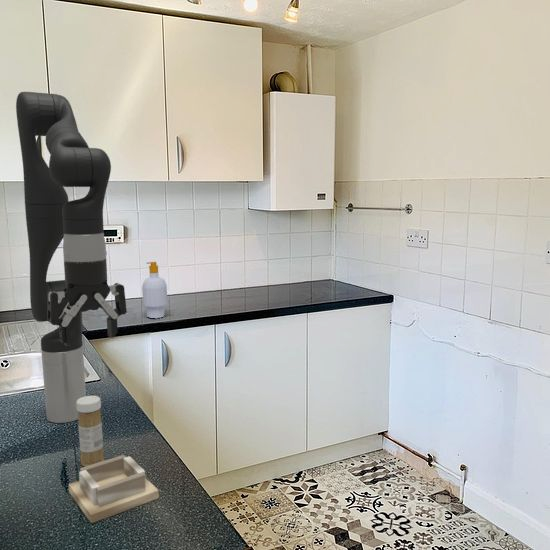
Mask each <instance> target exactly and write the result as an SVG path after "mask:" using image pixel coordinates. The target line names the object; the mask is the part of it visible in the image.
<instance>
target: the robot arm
mask: <svg viewBox="0 0 550 550" xmlns="http://www.w3.org/2000/svg"><path fill="white" fill-rule="evenodd" d="M15 101H16V102H15V103H16V104H15V109H16V110H15V111H16V120H17V121H16V122H17V130H18V136H19V144H20V151H21V153H20V154H21V161H22V169H23V170H22V171H23V190H24V191H23V193H24V211H25V221H26V223H25V224H26V229H27V231H26V232H27V239H28V241H27V242H28V248H29V249H28V251H29V299H30V300H29V301H30V310H31V314H32V317H33V318H34V320H35V321H36V322H38V323H41V322H42V323H44V322H48V323H49V324H51V325H53V326H58V327H57V328H56V329H54V330H52V331H50V332H48V333H46V334H44V335H42V337H41V339H40V348H41V350H40V351H41V361H42V375H43V376H42V378H43V386H44V387H43V388H44V390H43V391H44V401H45V413H46V420H47V421H48V422H51V423H55V424H65V423H70V422H76V421H77V420H78V411H77V407H76V402H77V400H78V399H80V398H82V397H85V396H87V393H86V391H87V390H86V378H85V376H86V374H85V362H84V361H85V360H84V358H85V357H84V348H83V345H84V344H83V343H84V342H83V318H82V317H83V314H82V313H85V312H88V311H98V310H99V309H101V310H102V311H103V312H104V313H105V315H106V316H108V317H106V327H107V328H106V330H107V337H109V338H111V339H113V338H116V335H117V334H118V332H119V331H118V330H119V329H118V327H119V326H118V318H120V316H122V315H126V314H127V301H126V293H125V286H124V285H123V284H121V283H119V282H115V283H114V284H112V285H109V284H108V267H107V263H108V262H107V255H108V251H107V247H106V240H105V234H104V230H105V229H104V204H105V197H106V192H107V188H108V184H109V181H110V176H111V171H112V165H111V163H112V162H111V160H110V157H109V155H108V154H107V153H106V151H105V150H104V149H102V148H98V147H89V145H88V143H87V141H86V139H84V137H83V136H82V135H81V133H80V132H79V128H78V125H77V121H76V118H75V114H74V111H73V108H72V105H71V103H70V101H69V100H68V99H67V98H66V97H65V96H63V95H61V94H57V93H48V92H45V93H44V92H35V91H20V92H19V93H18V94H17V97H16V100H15ZM36 137H45V145H46V148H47V151H48V153H49V155H50V156H49V162H48V164H47V163H46V160H45V159H44V157H43V156H42V152H41V151H40V149H39V145H38V142H37V138H36ZM78 187H79V188H89V190H88V193H87V194H86V195H85V196H84V197H82V198H78V199H77V198H76V199H74V200H73V199H72V200H69V195H68V193H67V191H66V189H65V188H78ZM61 243H63V244H62V254H63V269H64V279H62V280H51V281H50V280H49V281H48V280H47V275H48V269H49V266H50V263H51V261H52V258H53V256H54V254H55V252H56V251H57V249H58V247H59V246H60V245H61ZM110 293H111V294H112V295H113V296H114V302H115V308H114V309H113V307H112V306H111V305H110V304H109V303H108V301H107V298H108V297H109V295H110Z"/></svg>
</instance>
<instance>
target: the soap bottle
mask: <svg viewBox="0 0 550 550" xmlns="http://www.w3.org/2000/svg"><path fill="white" fill-rule="evenodd" d="M146 264H147V265H148V269H149V277H147V278H145V279H144V280H143V282H142V286H141V288H142V289H141V292H142V293H141V294H142V305H143V306H144V307H146V308H145V309H146V318H147V317H151V318H158V317H163V316H164V315H165V311H166V310H165V306H167V305H168V287H167V283H166V281H165V279H164V278H163V277H160V276H159V265H158V264H157V261H149V262H146ZM149 264H150V265H149ZM164 317H165V316H164ZM164 317H163V318H164Z"/></svg>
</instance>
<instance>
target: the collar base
mask: <svg viewBox="0 0 550 550" xmlns="http://www.w3.org/2000/svg"><path fill="white" fill-rule="evenodd" d="M79 469H80V471H79V472H78V477H79V480H77V481H74V482H71V483H68V485H67V486H68V493H69V494H70V495H71V497H72V498H73V500H74V501H75V502H76V504H77V505H78V507H79V508H80V510H81V511H82V512H83V514H84V515H85V517H86V518H87V519H88V521H89V522H90V524H93V523H96V522H99V521H101V520H104V519H105V520H106V519H107V518H110V517H112V516H115V515H118V514H120V513H123V512H126V511H129V510H131V509H133V508H137V507H139V506H142V505H144V504H147V503H150V502H152V501H155V500H157V499H159V498H160V494H159V493H160V491H159V489H158V488H157V487H156V486H155V485H154V484H153V483H152V482H151V481H150V480H149V479H147V477H146V470H144V468H142V467H141V466H140V465H139V464H138V463H137V462H136V461H135V459H133V458H132V457H131V456H129V455H128V456H126V455H125V454H122V455H119V456H116V457H113V458H110V459H104V461H102V462H99V463H96V464H92V465H89V466H86V467H84V466H83V467H80V468H79Z"/></svg>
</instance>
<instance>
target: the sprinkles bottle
mask: <svg viewBox="0 0 550 550" xmlns="http://www.w3.org/2000/svg"><path fill="white" fill-rule="evenodd" d="M76 407H77V411H78V437H79V438H78V441H79V449H80V465H81V466H83V467H86V466H89V465H92V464H96V463H99V462H102V461H105V456H104V448H103V447H104V440H103V423H102V422H103V421H102V417H101V416H102V415H101V412H102V411H101V408H102V401H101V397H100V396H98V395H86V396H85V397H82V398H80V399H78V400H77V402H76Z"/></svg>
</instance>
